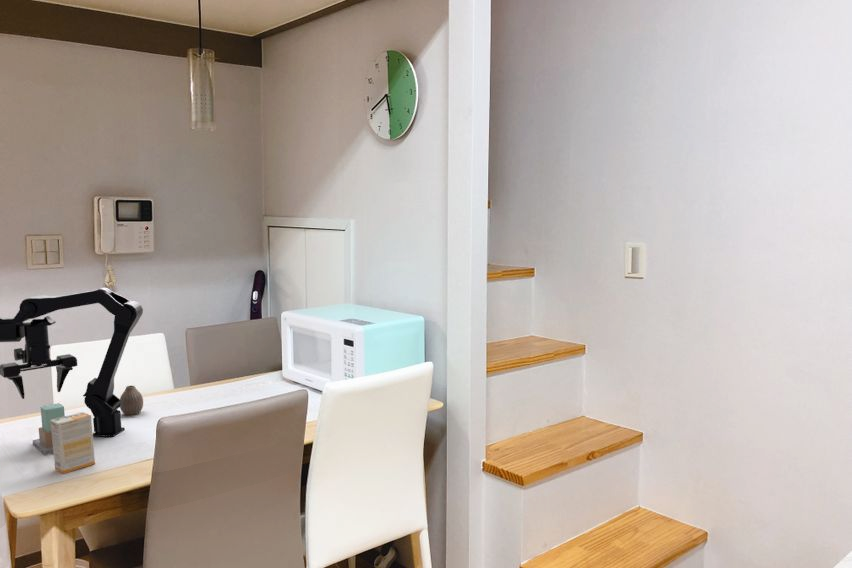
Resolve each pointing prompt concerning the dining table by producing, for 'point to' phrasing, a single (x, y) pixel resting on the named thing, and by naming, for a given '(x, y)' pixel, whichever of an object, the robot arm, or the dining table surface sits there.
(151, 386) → the dining table surface
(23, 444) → the dining table surface
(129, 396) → the vase
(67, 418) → the supplement box
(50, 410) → the block
